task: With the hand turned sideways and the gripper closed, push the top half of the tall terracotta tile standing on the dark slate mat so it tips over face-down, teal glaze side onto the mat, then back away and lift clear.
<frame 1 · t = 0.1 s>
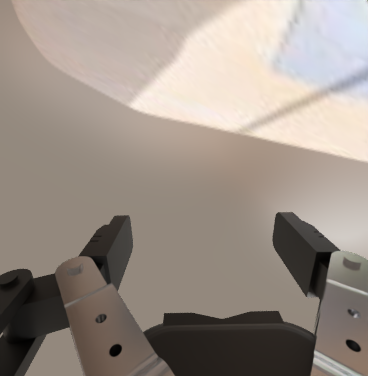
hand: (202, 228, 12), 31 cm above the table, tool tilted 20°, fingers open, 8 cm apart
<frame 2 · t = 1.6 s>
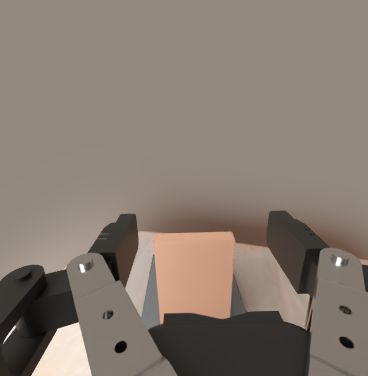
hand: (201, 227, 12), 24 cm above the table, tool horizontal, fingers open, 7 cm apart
glazed tile: (194, 335, 30), point 1 cm above the table, touching mat
mat: (192, 300, 37), on the table
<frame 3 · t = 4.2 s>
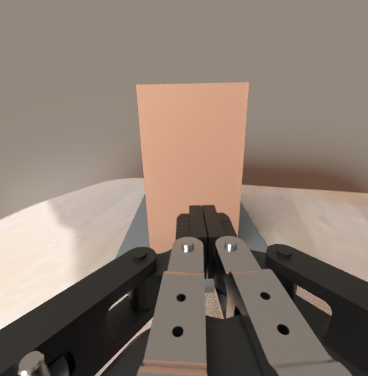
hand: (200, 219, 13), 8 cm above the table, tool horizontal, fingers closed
glazed tile: (193, 247, 24), point 1 cm above the table, touching mat
mat: (191, 223, 30), on the table
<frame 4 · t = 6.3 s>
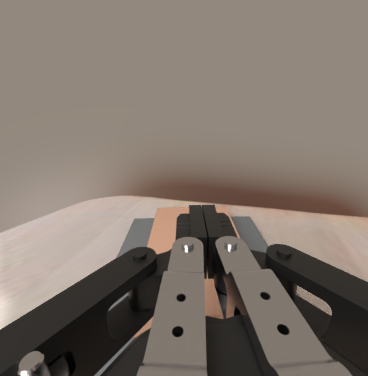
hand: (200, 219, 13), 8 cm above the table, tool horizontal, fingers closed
glazed tile: (200, 325, 14), point 2 cm above the table, tilted 90°, touching mat
mat: (196, 287, 19), on the table
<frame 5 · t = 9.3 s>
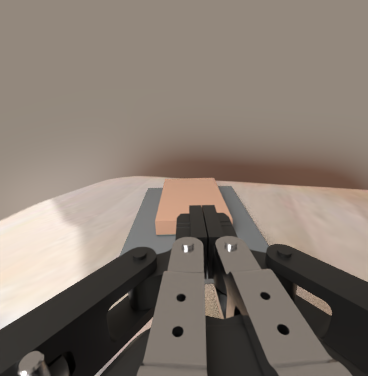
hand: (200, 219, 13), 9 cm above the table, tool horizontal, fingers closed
glazed tile: (193, 227, 26), point 2 cm above the table, tilted 90°, touching mat
mat: (192, 219, 31), on the table
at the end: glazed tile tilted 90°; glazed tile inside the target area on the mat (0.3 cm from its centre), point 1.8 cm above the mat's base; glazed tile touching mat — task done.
